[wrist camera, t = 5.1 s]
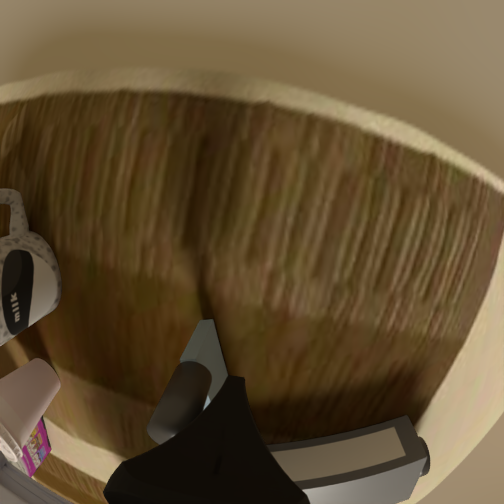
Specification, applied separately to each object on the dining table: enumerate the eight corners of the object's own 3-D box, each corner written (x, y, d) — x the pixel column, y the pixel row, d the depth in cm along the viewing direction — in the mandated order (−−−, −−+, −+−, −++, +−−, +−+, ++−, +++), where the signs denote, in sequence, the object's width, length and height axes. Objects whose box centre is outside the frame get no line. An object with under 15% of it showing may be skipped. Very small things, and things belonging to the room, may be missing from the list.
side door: (256, 448, 19) (249, 533, 11) (234, 449, 19) (221, 532, 11) (221, 317, 16) (183, 419, 8) (192, 320, 16) (138, 416, 8)
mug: (67, 321, 18) (12, 363, 11) (16, 302, 18) (-35, 332, 12) (59, 185, 16) (-15, 192, 9) (7, 186, 16) (-55, 194, 9)
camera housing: (258, 488, 21) (255, 527, 16) (239, 446, 19) (232, 493, 14) (407, 459, 19) (420, 494, 14) (420, 409, 18) (441, 450, 13)
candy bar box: (12, 382, 21) (-65, 458, 5) (42, 406, 21) (-34, 495, 5) (26, 431, 24) (-28, 497, 8) (52, 450, 24) (1, 524, 8)
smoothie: (15, 344, 19) (-74, 417, 6) (50, 344, 19) (-54, 439, 5) (43, 397, 21) (-27, 477, 7) (82, 404, 20) (7, 506, 6)
